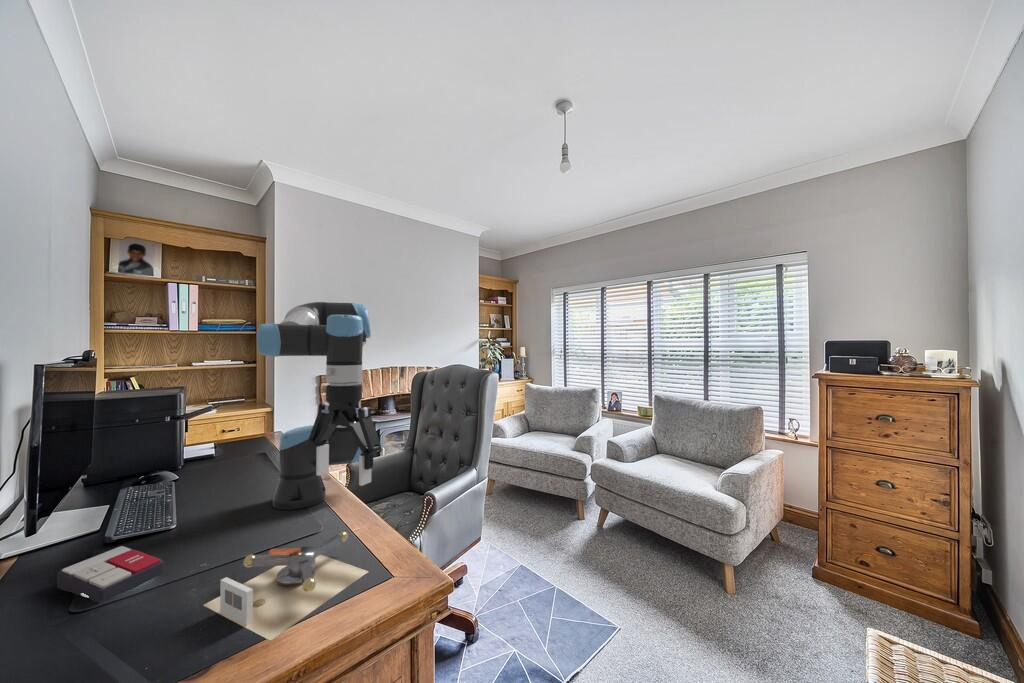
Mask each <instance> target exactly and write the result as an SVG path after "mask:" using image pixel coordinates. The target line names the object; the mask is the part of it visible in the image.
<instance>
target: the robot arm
mask: <svg viewBox="0 0 1024 683" xmlns="http://www.w3.org/2000/svg"><path fill="white" fill-rule="evenodd" d="M369 317H370V316H369V312H368V308H367V306H366V305H364V304H363V303H362V304H361V303H355V302H354V303H353V302H330V301H329V302H327V301H315V302H314V301H313V302H308V303H303V304H301V305H298V306H294V307H292V308H291V309H289V310H288V312H286V314H285V316H284V320H282V321H281V322H280V323H275V322H272V323H262V324H260V325H259V326H258V328H257V332H256V347H257V352H258V353H259V355H262V356H264V357H265V356H266V357H270V356H271V357H296V356H297V357H299V356H300V357H303V356H304V357H306V356H307V357H310V356H311V357H315V356H316V357H317V356H318V357H326V362H325V366H326V367H325V382H326V383H328V384H327V385H326V386H325V401H326V402H322V403H319V404H318V407H317V408H318V411H317V415H316V417H315V421H314V423H313V425H311V424H310V425H304V426H300V427H296V428H293V429H290V430H287V431H285V432H284V433H282V434H281V436H280V440H279V447H278V449H279V476H278V477H279V479H278V482H277V486H276V489H275V492H274V494H273V497H272V507H274V509H278V510H281V511H282V510H284V511H286V510H287V511H289V510H290V511H291V510H301V509H306V508H309V507H313V506H315V505H317V504H319V503H322V502H323V501H324V500H325V499H326V497H327V490H326V486H325V484H324V481H323V478H322V475H324V474H328V473H329V471H330V469H329V468H330V466H337V465H338V466H339V465H352V464H355V463H356V464H357V463H358V464H359V465H358V466H359V467H358V469H359V470H358V473H359V474H358V476H359V477H358V485H359V486H361V487H362V486H366V485H367V484H370V483H371V482H372V469H373V467H374V454H375V453H376V452H379V451H381V450H382V445H381V442H380V440H379V436H378V433H377V430H376V428H375V425H374V422H373V419H372V414H371V413H372V411H371V410H372V409H371V407H370V406H365V407H362V406H361V404H362V402H361V401H362V399H363V385H362V382H363V347H364V346H365V345H366V343H367V339H370V338H371V337H372V335H371V324H370V318H369ZM324 498H325V499H324ZM323 499H324V500H323ZM322 500H323V501H322ZM312 505H313V506H312ZM305 507H306V508H305ZM300 508H301V509H300Z"/></svg>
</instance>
